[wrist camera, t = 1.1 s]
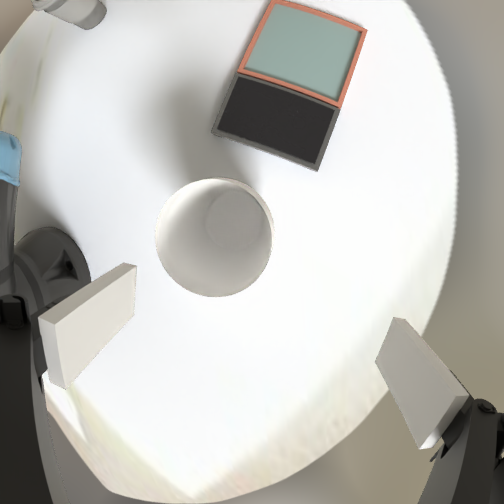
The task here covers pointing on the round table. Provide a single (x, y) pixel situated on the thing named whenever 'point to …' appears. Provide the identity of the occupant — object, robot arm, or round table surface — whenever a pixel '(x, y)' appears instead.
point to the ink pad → (276, 121)
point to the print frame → (304, 51)
